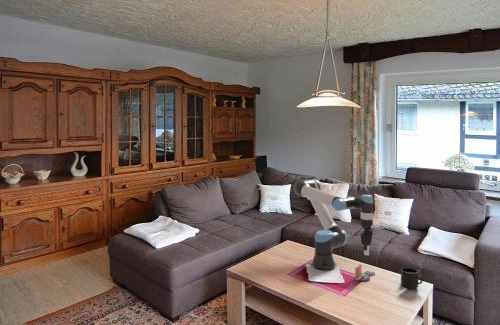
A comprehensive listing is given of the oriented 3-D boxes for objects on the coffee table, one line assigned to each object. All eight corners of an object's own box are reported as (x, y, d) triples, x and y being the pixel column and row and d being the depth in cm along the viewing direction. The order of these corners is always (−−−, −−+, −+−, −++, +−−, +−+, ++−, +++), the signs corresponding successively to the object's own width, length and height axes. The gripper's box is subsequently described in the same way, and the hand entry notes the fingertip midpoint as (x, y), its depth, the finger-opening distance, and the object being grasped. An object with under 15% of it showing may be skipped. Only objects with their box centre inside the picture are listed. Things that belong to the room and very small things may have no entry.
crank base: (349, 279, 217) (349, 266, 216) (360, 275, 224) (360, 262, 224) (362, 283, 210) (362, 270, 209) (372, 279, 217) (372, 266, 217)
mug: (418, 291, 198) (418, 275, 198) (397, 285, 207) (398, 270, 207) (425, 287, 204) (425, 271, 204) (405, 281, 213) (405, 266, 213)
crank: (360, 274, 220) (360, 261, 220) (366, 275, 218) (366, 263, 218) (354, 279, 212) (354, 266, 211) (361, 280, 209) (361, 267, 209)
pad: (353, 272, 228) (353, 271, 228) (363, 269, 235) (363, 268, 235) (368, 277, 220) (368, 276, 220) (378, 273, 227) (378, 272, 227)
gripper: (366, 221, 219) (366, 258, 220) (377, 218, 227) (377, 254, 228) (355, 219, 225) (355, 255, 225) (367, 216, 233) (366, 251, 234)
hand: (366, 254), depth 227 cm, fingers closed
